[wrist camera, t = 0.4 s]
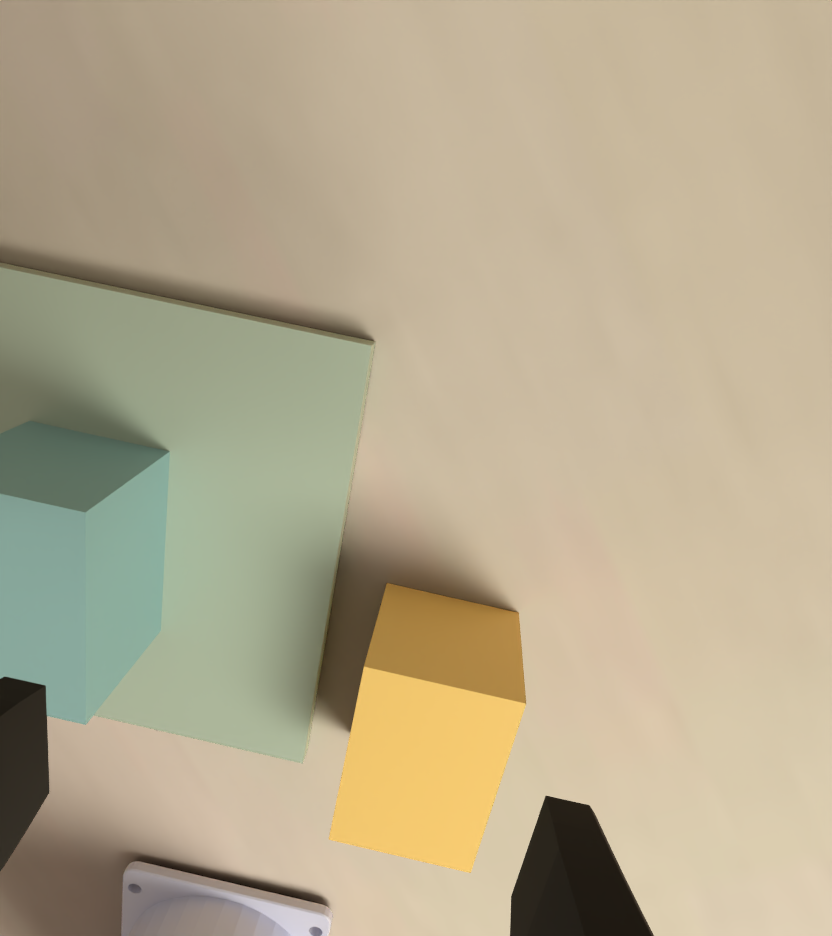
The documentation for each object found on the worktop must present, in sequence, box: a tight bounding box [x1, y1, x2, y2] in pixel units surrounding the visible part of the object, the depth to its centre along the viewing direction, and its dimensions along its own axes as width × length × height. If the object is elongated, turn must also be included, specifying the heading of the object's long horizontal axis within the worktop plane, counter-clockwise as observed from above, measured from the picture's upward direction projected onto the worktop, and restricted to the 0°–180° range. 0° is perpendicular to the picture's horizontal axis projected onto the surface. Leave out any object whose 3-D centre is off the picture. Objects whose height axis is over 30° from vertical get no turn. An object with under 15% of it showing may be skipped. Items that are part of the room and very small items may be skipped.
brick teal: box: [0, 421, 170, 725], centre depth 17 cm, size 6×4×4 cm, turn 169°
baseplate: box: [0, 262, 375, 764], centre depth 19 cm, size 14×14×1 cm
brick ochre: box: [329, 583, 526, 873], centre depth 19 cm, size 6×4×4 cm, turn 169°
